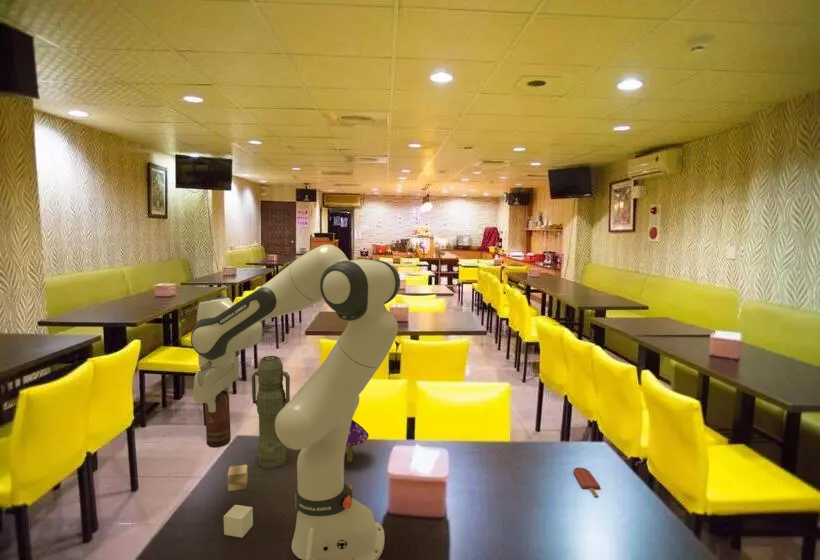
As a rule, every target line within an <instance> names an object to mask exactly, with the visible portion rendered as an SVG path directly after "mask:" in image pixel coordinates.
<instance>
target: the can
mask: <svg viewBox="0 0 820 560" xmlns="http://www.w3.org/2000/svg"><path fill="white" fill-rule="evenodd" d="M215 403H216V405H217V410H216V411H215V412H209V411H208V405H207V403H204V410H205V412H204V414H205V433H206V434H205V435H206V437H205V438H206V446H208V447H209V448H211V449H212V448H214V449H216V448H222V447H225V446H228V444H229V443H230V442H231V439H232V438H231V437H232V436H231V435H232V434H231V414H230V413H231V412H230V394H229V392H228V393H227V392H226V391H222V392H220V393H219V394H218V395H217V396H216V399H215Z"/></svg>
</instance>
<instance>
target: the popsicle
mask: <svg viewBox="0 0 820 560" xmlns="http://www.w3.org/2000/svg"><path fill="white" fill-rule="evenodd" d="M573 477H574V478H575V480H576V482H577V483H578V485H579V487H580V488H581V490H589V491H590V492H591V493H592V495H593V496H594V497H595V498H598V497H599V495H598V493H597V491H600V489H601V486H600V484H599V483H598V481H597V479H595V477H594V476H593V474H592V472H590V470H588V469H587V468H584V467H580V466H579V467H575V468H573Z"/></svg>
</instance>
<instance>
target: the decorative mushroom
mask: <svg viewBox="0 0 820 560" xmlns="http://www.w3.org/2000/svg"><path fill="white" fill-rule="evenodd" d="M369 437H370V436H369V433H368V432H367V430H366V429H365V428H364V427H363V426H361V425H360V424H359V423H358V422H356V421H355V420H354V418H353V419H352V422H351V426H350V431H349V435H348V440H347V444H346V448H347V458H346V462H347V463H351V462H353V455H354V454H353V451H354V450H353V447H354V446H359V445H361V444H363V443H364V442H366V441H367V440H368V438H369Z"/></svg>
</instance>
